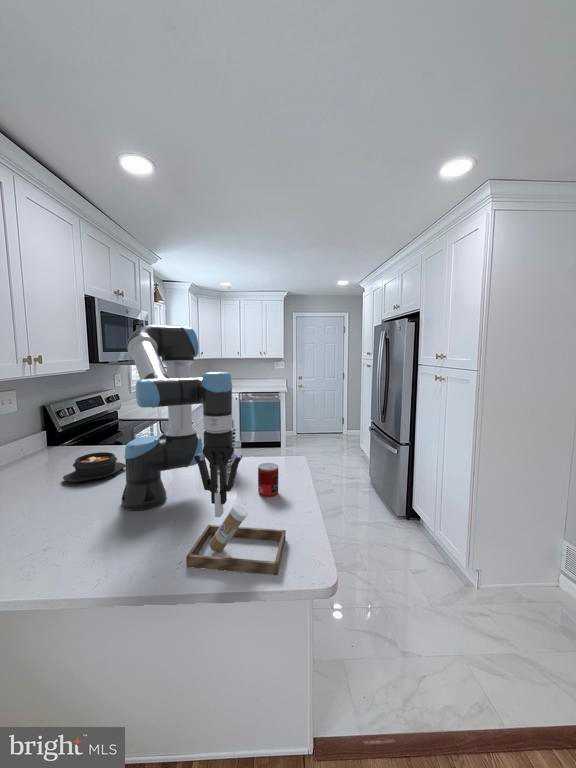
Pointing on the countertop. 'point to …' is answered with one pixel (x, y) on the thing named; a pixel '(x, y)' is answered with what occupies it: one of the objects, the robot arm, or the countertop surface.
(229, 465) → the decorative candle
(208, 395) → the robot arm
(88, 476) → the casserole
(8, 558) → the countertop surface
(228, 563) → the frame
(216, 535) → the sprinkles bottle
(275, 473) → the canned food
